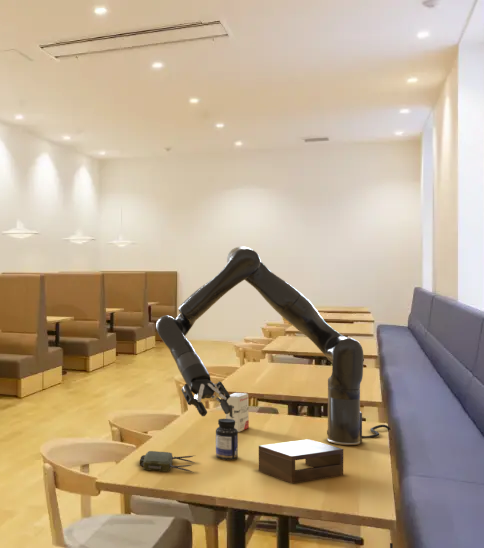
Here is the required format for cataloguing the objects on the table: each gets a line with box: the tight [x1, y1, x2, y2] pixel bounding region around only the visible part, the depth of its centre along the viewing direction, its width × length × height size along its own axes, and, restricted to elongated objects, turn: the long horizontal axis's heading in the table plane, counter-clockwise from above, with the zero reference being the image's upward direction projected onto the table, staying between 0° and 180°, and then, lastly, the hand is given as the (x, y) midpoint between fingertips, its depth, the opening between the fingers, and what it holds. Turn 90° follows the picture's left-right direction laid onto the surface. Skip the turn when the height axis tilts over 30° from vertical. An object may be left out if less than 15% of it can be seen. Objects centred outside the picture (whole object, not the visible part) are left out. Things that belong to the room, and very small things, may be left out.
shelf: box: [258, 438, 344, 484], centre depth 195 cm, size 18×12×7 cm, turn 113°
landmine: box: [139, 450, 196, 474], centre depth 203 cm, size 14×3×15 cm
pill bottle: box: [215, 418, 239, 461], centre depth 210 cm, size 6×6×11 cm
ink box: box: [225, 392, 250, 433], centre depth 247 cm, size 8×5×12 cm, turn 140°
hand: (216, 413), depth 214 cm, fingers open, 8 cm apart
